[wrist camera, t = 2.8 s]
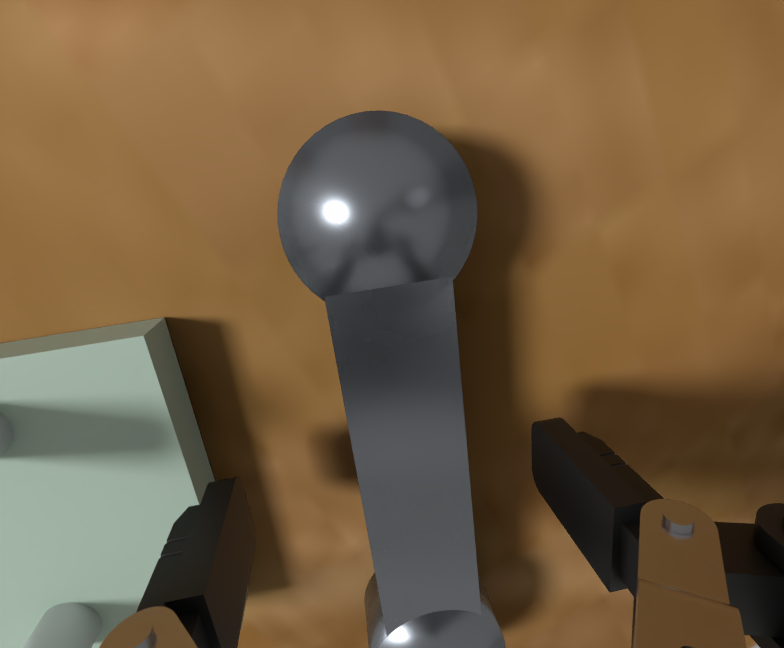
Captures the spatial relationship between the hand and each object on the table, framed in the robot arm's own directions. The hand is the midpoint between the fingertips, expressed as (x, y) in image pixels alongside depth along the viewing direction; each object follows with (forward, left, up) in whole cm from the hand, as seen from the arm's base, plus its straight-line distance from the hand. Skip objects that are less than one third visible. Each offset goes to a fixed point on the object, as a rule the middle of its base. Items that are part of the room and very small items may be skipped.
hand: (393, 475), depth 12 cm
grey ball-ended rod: (-1, 0, -2) cm, 2 cm away
